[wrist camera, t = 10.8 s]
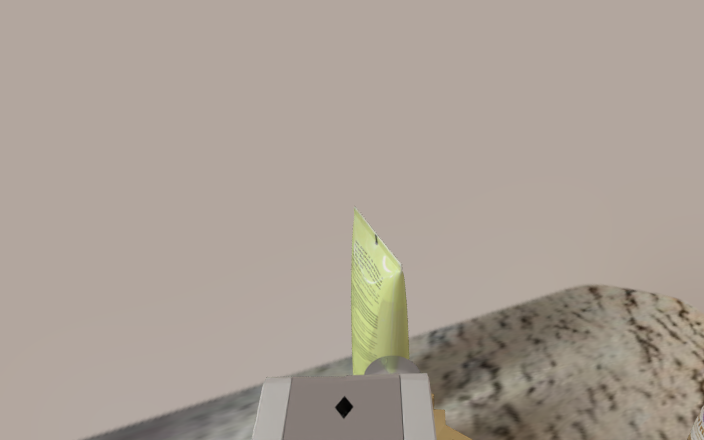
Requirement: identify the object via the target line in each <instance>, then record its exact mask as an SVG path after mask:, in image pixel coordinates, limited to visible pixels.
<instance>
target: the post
mask: <svg viewBox="0 0 704 440" xmlns="http://www.w3.org/2000/svg"><path fill="white" fill-rule="evenodd" d="M393 373H399V376H400V374H412V373H420V370H419V369H418V367H417V366H416V365H415V364H414V363H413V362H412V361H410V360H409V359H406V358H404V357H401V356H384V357H381V358H378V359H376V360H375V361H373V362H372V363H371V364H370V365H369V366H368V367H367V369H366V370H365V373H364V375H369V374H393Z"/></svg>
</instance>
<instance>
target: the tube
mask: <svg viewBox="0 0 704 440" xmlns="http://www.w3.org/2000/svg"><path fill="white" fill-rule="evenodd" d="M351 277H352V278H351V311H352V312H351V320H352V360H353V375H364V373H365V370H366V369H367V367H368V366H369V365H370V364H371V363H372V362H373V361H375V360H376V359H378V358H381V357H384V356H401V357H404V358H406V359H409V340H408V318H407V304H406V292H405V281H404V275H403V272H402V264H401V263H400V262H399V260H398V259H397V258H396V257H395V255H394V254H393V253H392V252H391V251H390V250H389V248H388V247H387V246H386V244H385V243H384V242H383V241H382V240H381V238H380V237H379V236H378V235H377V233H376V232H375V231H374V229H373V228H372V227H371V226H370V224H369V223H368V222H367V221H366V219H365V218H364V217H363V215H362V214H361V213H360V212H359V210H358V209H357V208H356V207H354V224H353V237H352V275H351Z"/></svg>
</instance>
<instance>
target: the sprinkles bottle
mask: <svg viewBox="0 0 704 440" xmlns="http://www.w3.org/2000/svg"><path fill="white" fill-rule="evenodd" d="M687 440H704V406H703V408H702V409H701V411H700V413H699V415H698V417H697V419H696V421H695V423H694V425H693V427H692V429H691V433H690V435H689V437H688V439H687Z"/></svg>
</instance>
